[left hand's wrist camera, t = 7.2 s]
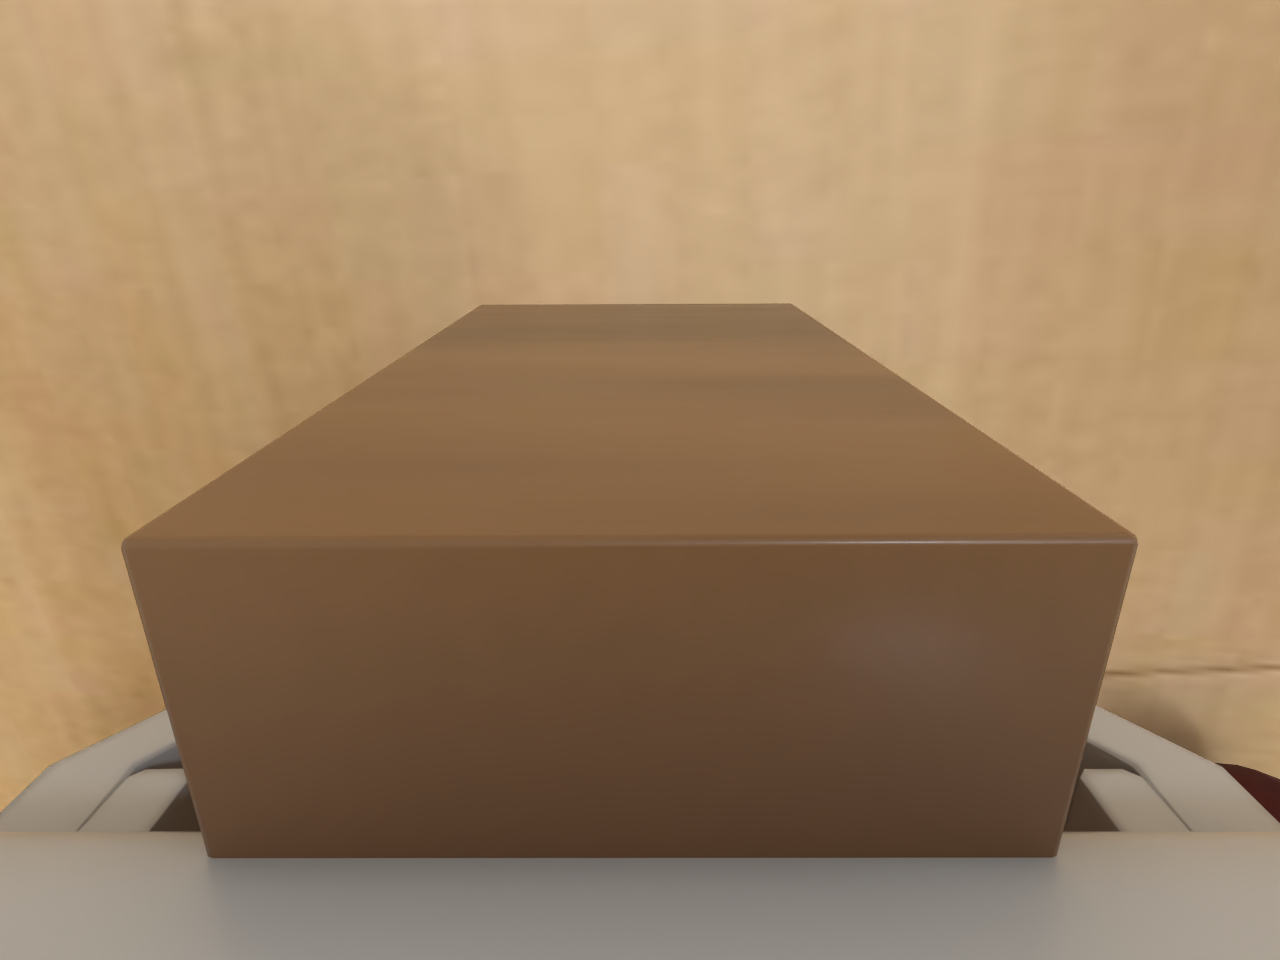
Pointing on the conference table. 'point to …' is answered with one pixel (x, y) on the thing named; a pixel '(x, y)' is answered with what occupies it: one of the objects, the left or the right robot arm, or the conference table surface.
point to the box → (631, 607)
